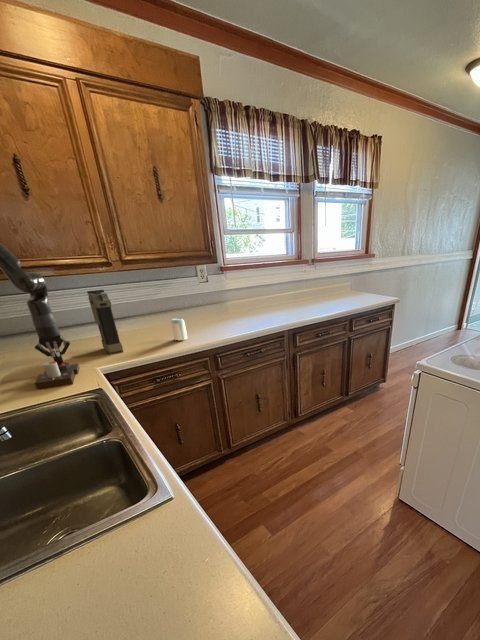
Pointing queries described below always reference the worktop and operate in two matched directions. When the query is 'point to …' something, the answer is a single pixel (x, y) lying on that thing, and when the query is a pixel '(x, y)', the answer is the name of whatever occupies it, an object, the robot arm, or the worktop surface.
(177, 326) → the can
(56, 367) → the white cup
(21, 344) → the worktop surface
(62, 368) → the switch block
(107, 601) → the worktop surface
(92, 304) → the device
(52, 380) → the panel
